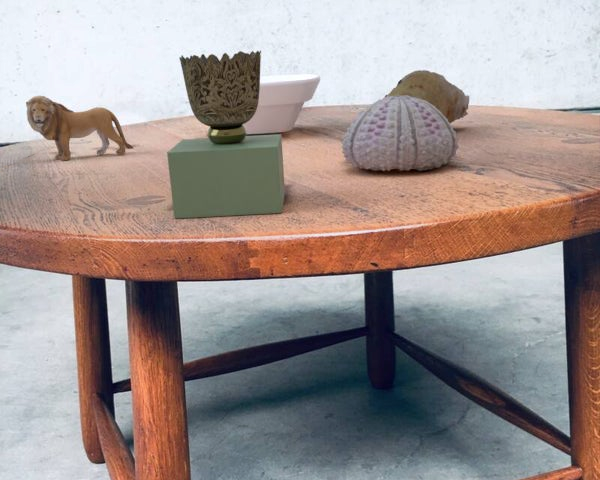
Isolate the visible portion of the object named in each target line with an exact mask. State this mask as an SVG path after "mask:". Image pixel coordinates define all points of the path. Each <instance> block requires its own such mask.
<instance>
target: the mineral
mask: <svg viewBox="0 0 600 480" xmlns="http://www.w3.org/2000/svg"><path fill="white" fill-rule="evenodd" d="M397 95H398V96H403V95H408V96H411V97H414V98H419V99H422V100H425V101H428V103H430V104H432V105H433V106H435V107H436V108H437V109H438V110H439V111H440V112H441V113H442V115H444V116H445V117H446V119H447V120H448V122H449V123H450V124H452V123H453V122H455V121H457V120H460V119H463V118H465V116H467V115H469V113H468V111H467V110H468V109H469V104H470V95H468V94H467V95H465V92H464V91H463V89H461V88H459V87H458V86H456V84H453V83H452V82H449V81H448V80H447V79H446V77H444V75H442V74H439V73H438V72H435V71H430V70H425V69H423V70H422V69H419V70H414V71H411V72H410V73H407V74H406V75H404V76H403V77H402V78H401V79H400V80H399V81H398V82H397V85H396V86H394V87H393V88H392V90H390V92H389V93H388V94H385V95H384V97H383V98H385V97H387V96H397ZM378 100H381V99H378Z"/></svg>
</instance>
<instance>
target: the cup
mask: <svg viewBox="0 0 600 480" xmlns="http://www.w3.org/2000/svg"><path fill="white" fill-rule="evenodd" d="M179 62H180V66H181V71H182V75H183V80H184V85H185V90H186V94H187V100H188V101H189V102H188V103H189V107H190V109H191V111H192V114H193V115H194V117H195V118H196V119H197V121H199V122H200V123H201V124H203V125H205V126H208V130H207V134H206V136H207V138H209V140H210V141H211V142H212V143H214V144H233V143H239V142H241V141H243V140H244V139H245V137H246V136H247V134H246V133H247V132H246V129H245V127H244V126H243V124H244V123H246V122H248V121H249V120H250V119H251V118H252V117H253V116H254V114H255V112H256V110H257V106H258V101H259V89H260V76H261V63H262V50H257V51H255V52H254V51H253V50H251V52H250V53H249V52H244V51H242V50H240V51H238V52H237V53H234V54H233V56H232V57H230V55H229V54H228V53H226V52H224V53H223V54H222V56H221V58H220V59H219V57H218V56H216V54H213V53H210V54H209V55H208V56H207V57H206V55H205V54H204V53H202V54H201V55H200V56H198V55H196V54H193V55H192V54H190V56H189V57H188V56H186V57H184V55H183V54H182V55H181V56H179Z"/></svg>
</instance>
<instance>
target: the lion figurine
mask: <svg viewBox="0 0 600 480" xmlns="http://www.w3.org/2000/svg"><path fill="white" fill-rule="evenodd" d="M25 106H26V119H27V122H28V124H29V126H30V128H31V129H32V130H33V131H34V132H37V133H39V134H40V135H41V136H42V137H43V139H45V140H47V141H54V143H55V147H56V149H57V151H58V154H56V155H55V156H54V159H55V160H60V161H70V159H71V155H72V154H71V153H72V152H71V150H70V149H71V148H70V141H71V139H83V138H86V137H88V136H90V135H91V134H92V133H94V132H96V133H97V134H98V137H99V139H100V140H101V144H102V145H101V147H100V149H97V150H96V155H105V154H106V152H107V150H108V149H109V146H110V141H111V142H114V143H115V144H117V146H118V147H119V149H116V150H115V154H116V155H118V156H121V155H125V154H126V149H128V150H130V149H131V150H133V149H134V147H133V146H132V145H131V144H130V143H128V142H127V140H126V137H125V135H124V132H123V129H122V126H121V124H120V122H119V120H118V118H117V117H116V115H115V114H114V112H113V111H111V110H109V109H107V108H105V107H101V106H100V107H99V106H98V107H97V106H96V107H93V108H91V109H88V110H83V111H74V110H71V109H68V108H67V106H65V105H63V104H62V103H58V102H56V101H53V100H52V99H50V98H49V97H46V96H45V95H35V96H32V97H31V98H29V99H28V101H26V102H25ZM113 123H114V124H113ZM114 126H115V127H114ZM115 128H116V129H115ZM117 132H118V133H117ZM109 140H110V141H109Z"/></svg>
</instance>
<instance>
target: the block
mask: <svg viewBox="0 0 600 480" xmlns="http://www.w3.org/2000/svg"><path fill="white" fill-rule="evenodd" d="M166 156H167V164H168V172H169V182H170V192H171V193H170V194H171V200H172V209H173V210H172V211H173V219H194V218H196V219H197V218H214V217H216V218H217V217H234V216H250V215H251V216H253V215H269V214H270V215H272V214H282V213H283V207H284V202H285V196H286V190H285V189H286V186H285V171H284V153H283V137H282V133H278V134H276V133H274V134H256V135H246V137H245V139H244V140H243V141H241V142H239V143H233V144H214V143H212V142H211V141H210V140H209V138H208V137H207V138H188V139H181V140H180V141H179V142H178V143H176V144H175V145H174V146H173V147H172V148H171V149H169V150H168V151H167V153H166Z"/></svg>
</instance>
